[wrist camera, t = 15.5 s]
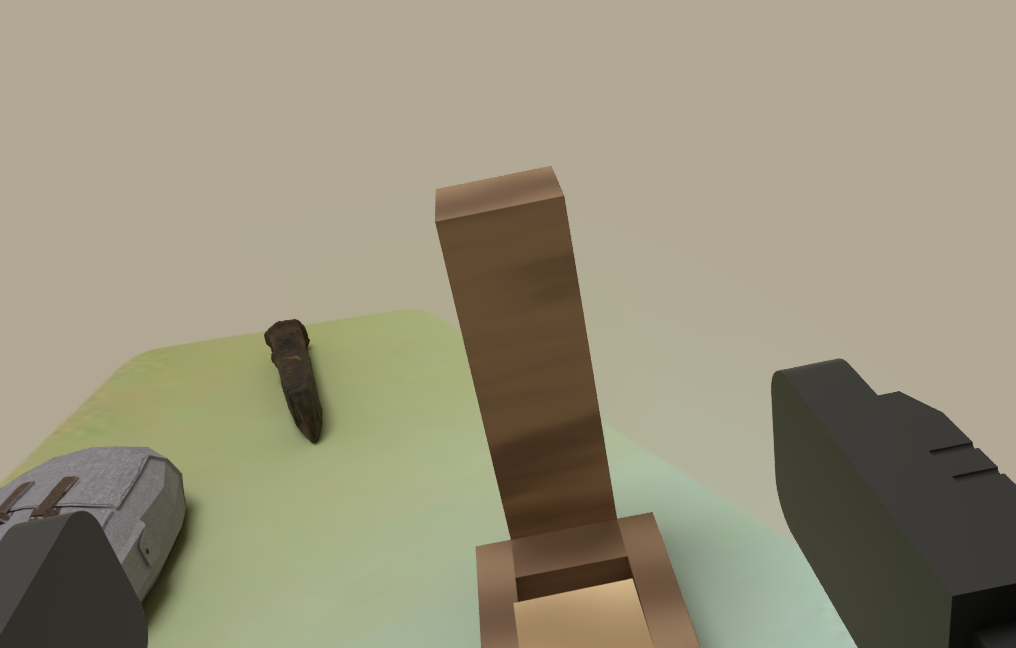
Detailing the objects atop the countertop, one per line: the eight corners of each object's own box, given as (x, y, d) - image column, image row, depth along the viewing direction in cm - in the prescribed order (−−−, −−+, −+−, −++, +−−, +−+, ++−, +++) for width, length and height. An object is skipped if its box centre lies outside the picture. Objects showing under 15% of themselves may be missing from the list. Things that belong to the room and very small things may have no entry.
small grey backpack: (121, 696, 49) (231, 482, 67) (62, 590, 46) (194, 393, 63) (-113, 722, 51) (54, 507, 69) (-189, 622, 47) (9, 421, 65)
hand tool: (273, 359, 86) (258, 319, 84) (312, 347, 86) (298, 307, 84) (283, 458, 69) (265, 411, 67) (331, 442, 70) (315, 395, 68)
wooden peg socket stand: (832, 1097, 28) (815, 535, 17) (533, 1152, 28) (332, 628, 17) (643, 523, 54) (589, 158, 43) (488, 553, 54) (397, 197, 43)
